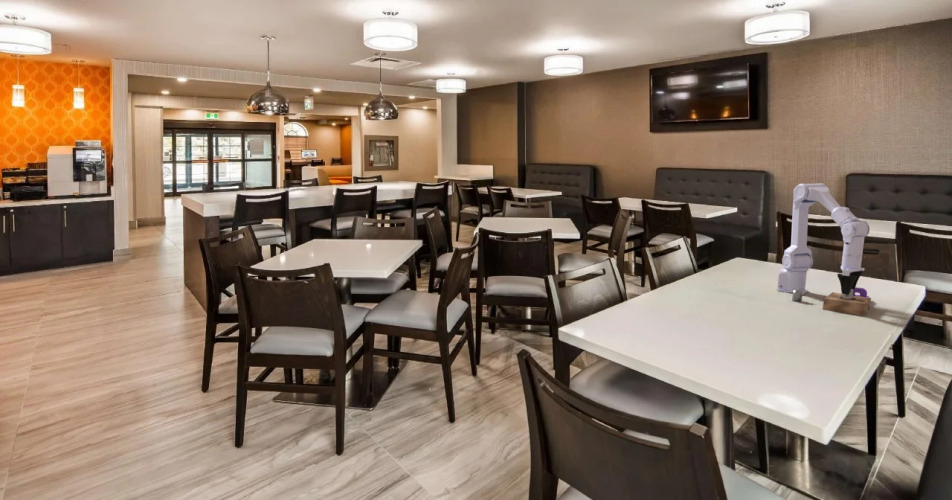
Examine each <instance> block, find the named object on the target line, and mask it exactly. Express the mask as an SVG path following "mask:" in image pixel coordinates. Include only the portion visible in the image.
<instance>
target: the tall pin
mask: <svg viewBox="0 0 952 500" xmlns="http://www.w3.org/2000/svg"><path fill="white" fill-rule="evenodd" d="M841 294H842V293H841ZM852 297H853V289H852V288H851V291H850V293H849V295H847V294H842V299H846V300H852Z"/></svg>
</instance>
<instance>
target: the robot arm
mask: <svg viewBox="0 0 952 500" xmlns="http://www.w3.org/2000/svg"><path fill="white" fill-rule="evenodd" d="M792 197H793V198H792V199H793V201H792V219H791V220H792V221H791V239H790V241H791V242H790V246H789V247H787V248H786V249H784V251H783V252H784V253H783V256H782V258H781V262H782V263H781V264H782V268H780V270H779V272H778V278H777V279H778V281H777V289H776V291H777V292H783V293H791V294H793V290H801V291H803V295H804V294H806V293H807V292H809V289H806V283H807V275H808V273H807V272H808V271H809V270H810V269H811V268H812V267H813V263H814V259H813V256H812V255H813V254H812V250H811V249H810V248H809V247H808V246H807V244H808V226H809V225H808V224H809V223H808V222H809V208H810V207H811V206H812V205H813V204H815V203H817V202H818V203H820V204H821V205H822V206H823V207H824V208H826V209H827V211H829V212H830V213H831V214H830V216H831V217H830V218H831V220H833V221H834V222H835V223H836V224H837V226H839V228H840V232H841V234H842V240H843V248H842V249H843V250H842V256H841V265H840V270H841V271H842V273H840V272H839V273H837V274H836V275H837V278H838V280H839V283H840V284H839V285H840V290H841V294H847V295H849V293H850V291H851V288H852V289H853V291H854V290H855V287H857V284H858V282H859V279H860V277H861V276H862V274H863V273H864V271H865V267H862V260H863V254H864V253H863V252H864V251H863V250H864V244H865V243H864V242H865V237H867V236H869V233H870V231H871V230H870V225H869V223H868V222H867V221H866V220H861V219H858V217H857V216H855V215H854V214H853V213H852V211H850V208H849V207H846V206H841V205H840V203H838V202H837V201H836V199H835V198H834V197H833V195H831V192H830V188H829V187H828V186H826V184H825V183H821V182H820V183H819V182H818V183H799V184H798V185H796V186H795V187H794V188H793V196H792Z"/></svg>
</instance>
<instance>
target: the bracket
mask: <svg viewBox="0 0 952 500" xmlns="http://www.w3.org/2000/svg"><path fill="white" fill-rule="evenodd" d="M856 293H857V294H856ZM858 293H859V294H858ZM853 295H854V296H861V297H868V298H870V296H869V295H868V292H867V289H865V288H862V287H857V286H856V287H855V290H854V291H853Z"/></svg>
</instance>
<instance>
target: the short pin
mask: <svg viewBox="0 0 952 500" xmlns="http://www.w3.org/2000/svg"><path fill="white" fill-rule="evenodd" d="M803 295H804V294H803V291H801V290H793V293H792V299H791V300H792V302H794V303H802V302H803Z"/></svg>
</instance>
